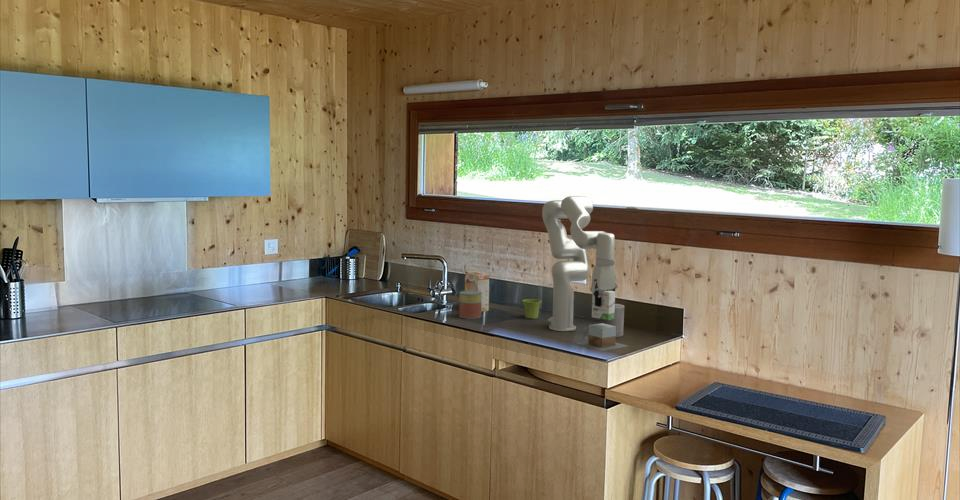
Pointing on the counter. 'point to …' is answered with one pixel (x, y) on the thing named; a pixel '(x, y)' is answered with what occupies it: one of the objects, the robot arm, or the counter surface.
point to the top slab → (602, 330)
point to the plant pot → (531, 308)
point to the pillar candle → (617, 320)
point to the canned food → (470, 304)
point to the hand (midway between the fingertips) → (603, 305)
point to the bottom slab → (601, 341)
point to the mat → (585, 343)
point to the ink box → (604, 305)
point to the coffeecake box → (478, 286)
